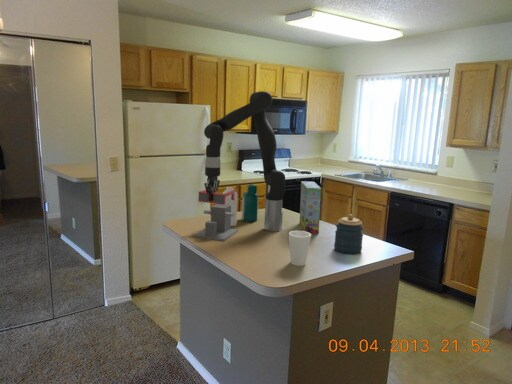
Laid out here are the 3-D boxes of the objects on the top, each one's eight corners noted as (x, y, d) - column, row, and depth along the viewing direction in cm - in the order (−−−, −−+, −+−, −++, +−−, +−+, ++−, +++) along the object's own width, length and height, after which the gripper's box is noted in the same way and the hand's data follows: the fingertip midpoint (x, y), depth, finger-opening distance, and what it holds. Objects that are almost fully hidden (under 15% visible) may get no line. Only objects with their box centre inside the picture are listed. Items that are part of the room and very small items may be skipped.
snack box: (297, 223, 228) (300, 180, 223) (312, 223, 228) (315, 181, 223) (303, 233, 206) (306, 187, 202) (319, 234, 207) (322, 187, 202)
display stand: (224, 241, 188) (224, 213, 186) (193, 236, 194) (193, 209, 191) (238, 231, 206) (239, 206, 203) (210, 227, 211) (210, 202, 209)
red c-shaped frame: (223, 204, 186) (224, 194, 186) (198, 201, 191) (198, 191, 190) (234, 199, 200) (234, 190, 199) (210, 196, 204) (210, 187, 203)
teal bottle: (241, 218, 233) (242, 183, 229) (254, 218, 235) (256, 183, 231) (244, 222, 224) (245, 186, 220) (258, 222, 226) (259, 186, 222)
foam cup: (294, 268, 157) (296, 238, 154) (283, 260, 165) (284, 232, 162) (313, 265, 161) (315, 235, 159) (301, 258, 169) (303, 229, 167)
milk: (228, 227, 214) (230, 188, 209) (221, 224, 218) (222, 186, 213) (236, 225, 218) (237, 187, 214) (229, 223, 222) (230, 185, 218)
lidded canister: (328, 248, 183) (330, 213, 180) (345, 244, 191) (348, 210, 188) (349, 256, 173) (353, 219, 170) (367, 251, 181) (370, 215, 178)
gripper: (213, 168, 179) (212, 204, 182) (225, 165, 192) (224, 199, 195) (199, 166, 181) (198, 202, 184) (211, 164, 194) (210, 197, 197)
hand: (211, 200), depth 189 cm, fingers closed on red c-shaped frame, 1 cm apart
